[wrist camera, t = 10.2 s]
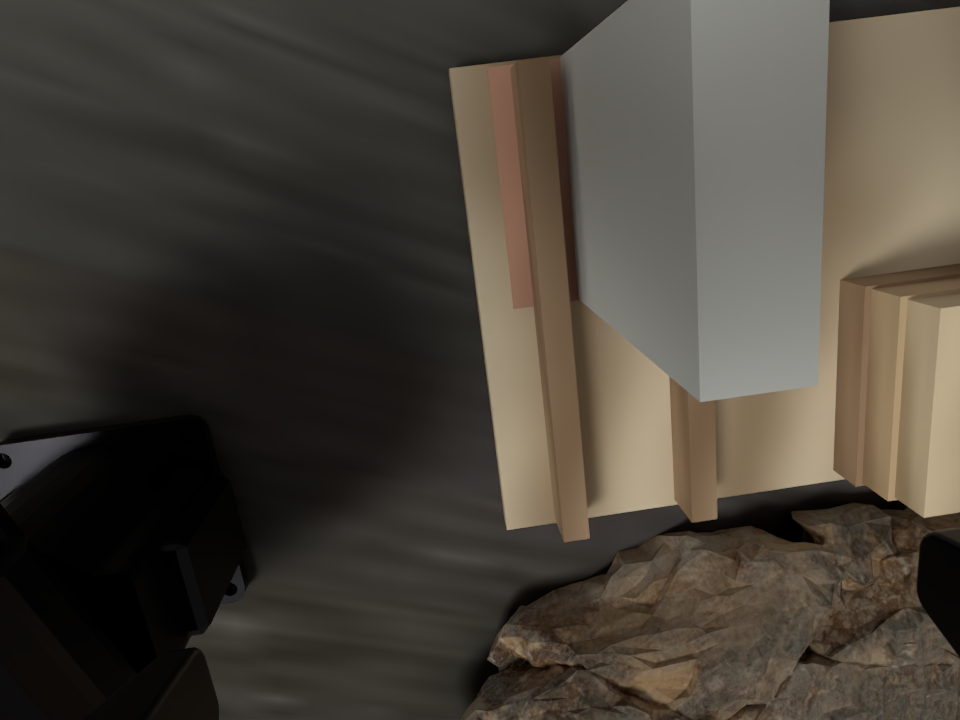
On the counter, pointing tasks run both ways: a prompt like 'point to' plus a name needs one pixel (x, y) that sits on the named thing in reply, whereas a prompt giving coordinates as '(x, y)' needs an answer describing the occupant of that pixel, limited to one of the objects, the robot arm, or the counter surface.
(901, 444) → the pine offcut
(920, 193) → the rack
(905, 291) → the oak offcut
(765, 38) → the panel
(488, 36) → the counter surface
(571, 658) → the craggy brown boulder
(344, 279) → the counter surface
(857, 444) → the tan wooden square tile
